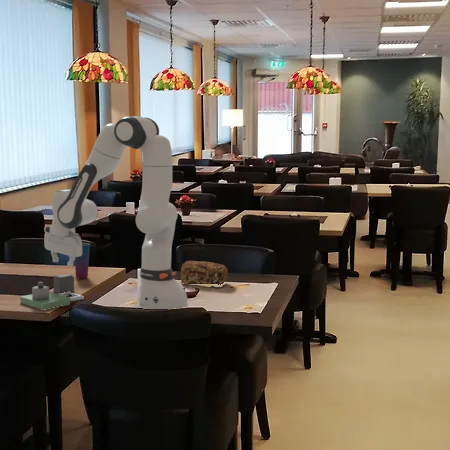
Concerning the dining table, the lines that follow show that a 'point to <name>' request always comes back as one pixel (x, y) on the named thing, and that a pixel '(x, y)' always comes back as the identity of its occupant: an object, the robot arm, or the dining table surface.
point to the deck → (46, 303)
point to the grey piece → (63, 283)
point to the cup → (82, 262)
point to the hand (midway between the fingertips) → (62, 264)
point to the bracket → (75, 298)
